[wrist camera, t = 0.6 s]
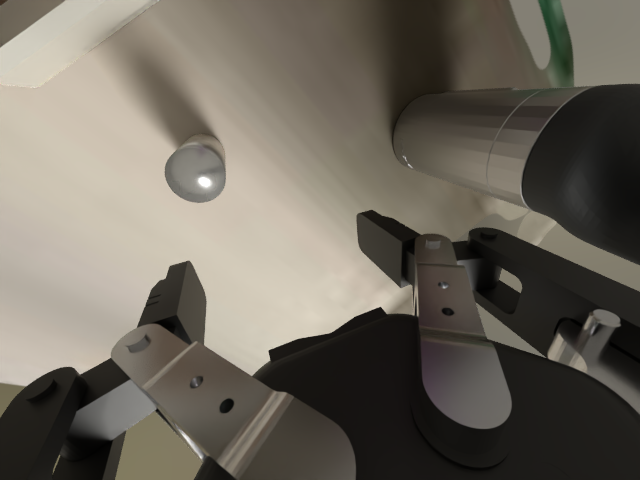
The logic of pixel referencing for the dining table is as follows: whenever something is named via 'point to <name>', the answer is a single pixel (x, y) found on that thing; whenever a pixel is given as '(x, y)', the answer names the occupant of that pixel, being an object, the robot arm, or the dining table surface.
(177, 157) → the peg
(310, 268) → the dining table surface
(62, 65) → the box
